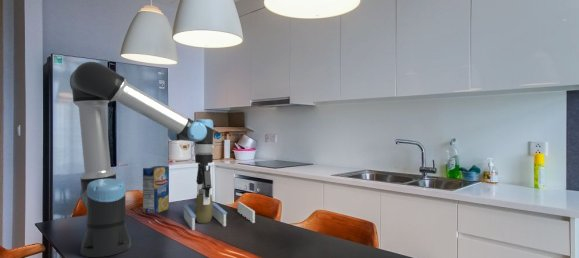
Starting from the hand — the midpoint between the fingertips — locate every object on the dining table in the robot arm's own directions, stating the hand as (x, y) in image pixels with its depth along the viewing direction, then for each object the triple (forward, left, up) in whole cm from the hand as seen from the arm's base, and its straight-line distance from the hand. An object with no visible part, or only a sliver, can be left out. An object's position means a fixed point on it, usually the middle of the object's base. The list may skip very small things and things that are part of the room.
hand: (203, 201), depth 152 cm
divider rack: (0, -7, -9) cm, 11 cm away
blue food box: (+31, +17, -9) cm, 37 cm away
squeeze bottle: (0, 0, -9) cm, 9 cm away
